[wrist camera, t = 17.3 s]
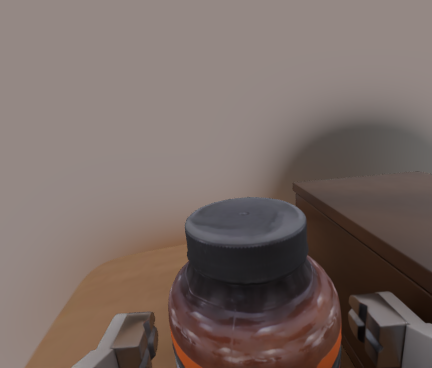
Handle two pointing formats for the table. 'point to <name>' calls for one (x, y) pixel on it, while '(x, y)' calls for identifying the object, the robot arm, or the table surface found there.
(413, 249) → the lid
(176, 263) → the table surface
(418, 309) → the chest
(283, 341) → the supplement bottle
